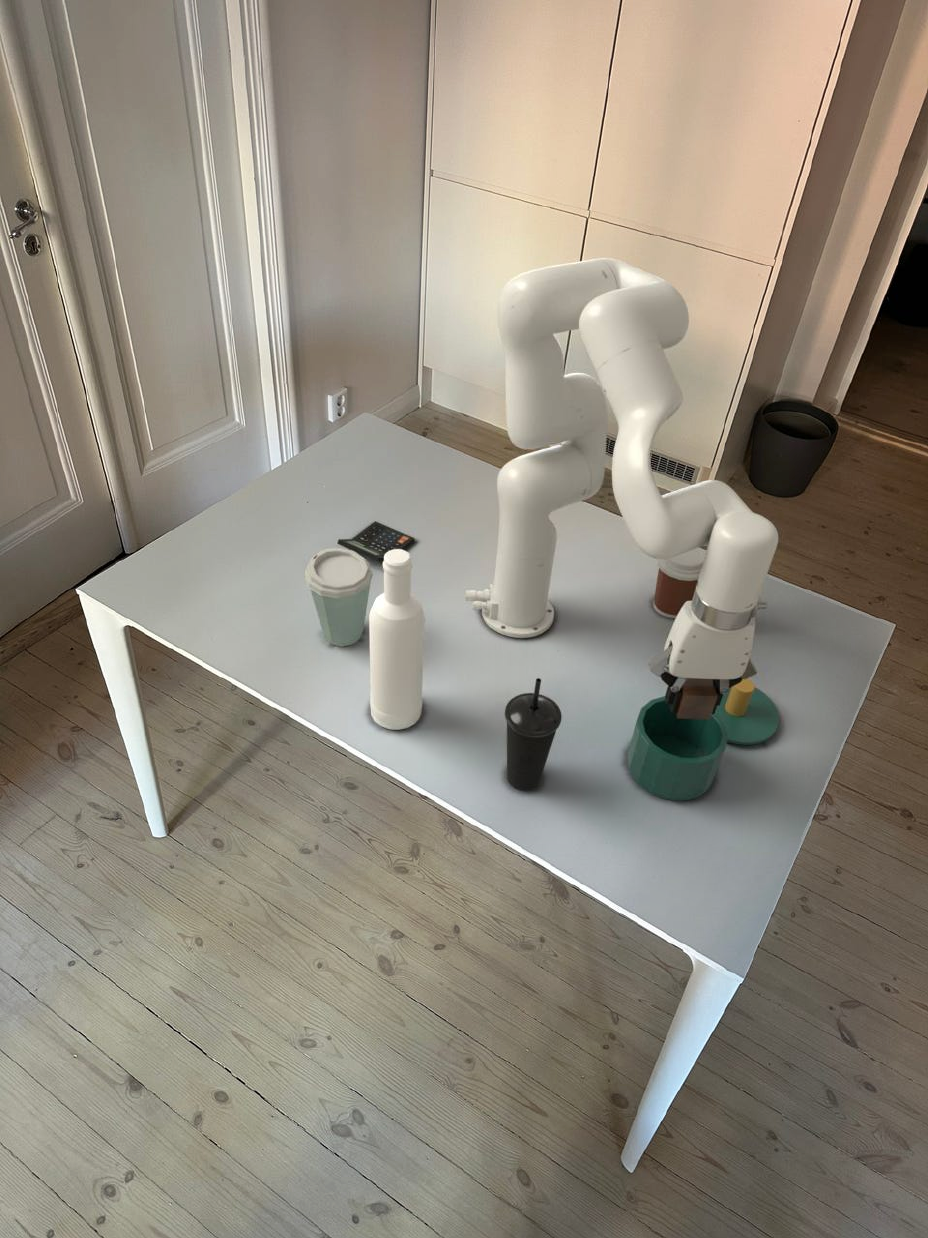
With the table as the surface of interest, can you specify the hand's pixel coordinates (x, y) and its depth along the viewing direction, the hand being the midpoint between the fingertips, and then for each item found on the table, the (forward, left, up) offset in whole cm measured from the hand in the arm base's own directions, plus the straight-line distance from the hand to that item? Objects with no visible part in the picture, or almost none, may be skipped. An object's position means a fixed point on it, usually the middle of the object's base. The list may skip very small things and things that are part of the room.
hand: (690, 705), depth 121 cm
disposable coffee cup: (-51, +26, -13) cm, 59 cm away
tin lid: (+12, +11, -13) cm, 21 cm away
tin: (0, 0, -13) cm, 13 cm away
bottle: (-41, +9, -13) cm, 44 cm away
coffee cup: (+7, +37, -13) cm, 40 cm away
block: (0, 0, 0) cm, 0 cm away
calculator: (-47, +51, -13) cm, 71 cm away
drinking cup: (-22, -3, -13) cm, 26 cm away
